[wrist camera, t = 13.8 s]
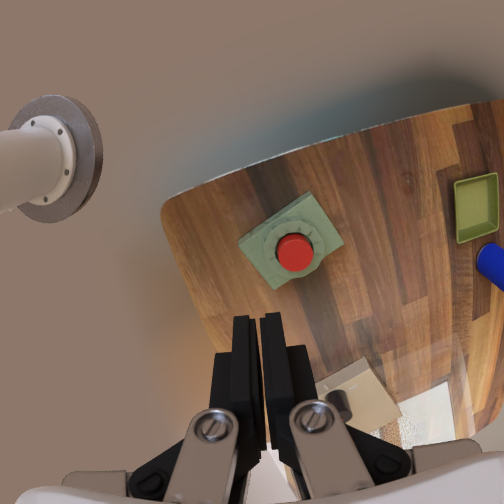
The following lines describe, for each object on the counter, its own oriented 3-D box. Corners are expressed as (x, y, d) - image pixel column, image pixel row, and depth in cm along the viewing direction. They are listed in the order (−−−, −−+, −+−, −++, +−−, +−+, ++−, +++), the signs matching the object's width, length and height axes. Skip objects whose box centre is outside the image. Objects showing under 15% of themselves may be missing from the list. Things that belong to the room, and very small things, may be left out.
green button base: (272, 281, 38) (274, 298, 35) (238, 239, 36) (236, 252, 33) (340, 237, 36) (349, 249, 32) (308, 190, 34) (315, 197, 30)
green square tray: (490, 226, 35) (499, 230, 33) (449, 239, 36) (457, 245, 34) (488, 169, 32) (497, 171, 30) (445, 178, 33) (454, 182, 31)
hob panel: (336, 436, 52) (338, 448, 49) (283, 390, 46) (284, 404, 43) (398, 404, 49) (403, 416, 46) (360, 348, 43) (365, 362, 40)
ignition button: (289, 270, 34) (291, 278, 32) (270, 246, 33) (271, 252, 31) (316, 252, 33) (319, 259, 31) (298, 227, 32) (301, 232, 30)
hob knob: (324, 391, 42) (329, 415, 38) (347, 387, 42) (354, 410, 37) (324, 405, 44) (329, 428, 39) (346, 401, 43) (352, 423, 39)
